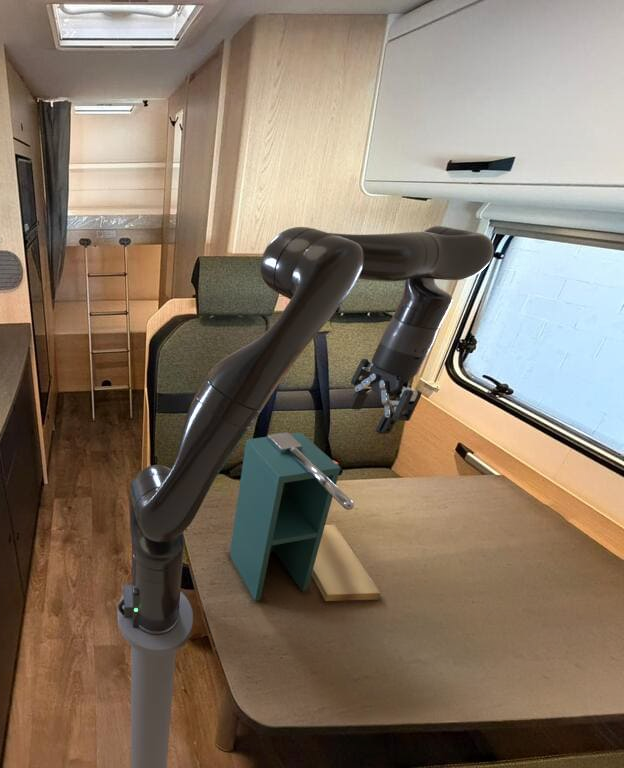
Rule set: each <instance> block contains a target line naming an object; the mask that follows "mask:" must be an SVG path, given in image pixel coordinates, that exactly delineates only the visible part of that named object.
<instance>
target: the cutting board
mask: <svg viewBox="0 0 624 768" xmlns="http://www.w3.org/2000/svg"><path fill="white" fill-rule="evenodd" d="M311 578H312V579H313V581H314V583H315V584H316V586H317V588H318V590H319V592H320V594H321V595H322V598H323V599H324V601H325V602H338V601H339V602H341V601H369V600H379V598H380V596H381V591H380V590H379V589H378V586H377V585H376V584H375V582H374V581H373V580H372V578H371V577H370V575H369V574H368V572H367V571H366V569H365V568H364V566H363V564H362V563H361V561H360V560H359V559H358V557H357V556H356V554H355V553H354V551H353V550H352V548H351V547H350V546H349V544H348V543H347V541H346V540H345V539H344V536H343V535H342V534H341V532H340V531H339V529H338V528H337V526H336V525H335V524H325V527H324V531H323V534H322V538H321V542H320V545H319V549H318V553H317V556H316V560H315V564H314V567H313V571H312V575H311Z"/></svg>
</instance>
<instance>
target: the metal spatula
mask: <svg viewBox="0 0 624 768" xmlns="http://www.w3.org/2000/svg"><path fill="white" fill-rule="evenodd" d="M290 434H291V433H289V432H287V431H286V432H278V433H271V434H267V435H266V437H267V441H268V442H269V443H270V444H271V445H272V446H273V447H274V448H275V449H276V450H277V451H278V452H279V453H280V454H286V453H290V454H291V455H292V456H293V457H294V458H295V459H296V460H297V461H298V462H299V463H300V464H301V465H302V466H303V467H304V468H305V469H306V470H307V471H308V472H309V473H310V474H311V475H312V476H313V477H314V478H315V479H316V480H317V481H318V482H319V483H320V484H321V485H322V486H323V487H324V488H325V489H326V490H327V491H328V492H329V493H330V494H331V495H332V496H333V499H334V500H335V501H337V503H338V504H339V505H341V507H342V508H344V509H345V510H346V511H347V510H348V511H350V510H353V509H354V507H355V503H354V502H353V500H351V499H350V498H349V496H348V495H346V494H345V492H343V491H342V490H341V489H340V488H339V486H337V484H336V485H335V484H334V483H333V482H332V481H331V480H330V479H329V478H327V477H326V476H325V475H324V474H323V473H322V472H321V471H320V470H319V469H318V468H317V467H316V466H315V465H314V464H313V463H312V462H311V461H310V460H309V459H308V458H307V457H306V456H304V455H303V454H302V453H301V452H300V451H302V447H303V446H302V445H301V444H300V443H299V442H298V441H297V440H296V439H294V438H293V437H292V436H291V435H290Z"/></svg>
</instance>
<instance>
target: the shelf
mask: <svg viewBox="0 0 624 768" xmlns="http://www.w3.org/2000/svg"><path fill="white" fill-rule="evenodd" d="M289 434H290V435H291V436H292V437H293V438H294V439H296V440H297V441H298V442H299V443H300V444H301V445H302V446H303V447H302V451H300V452H301V453H302V454H303V455H304V456H306V457H307V458H308V459H309V460H310V461H311V462H312V463H313V464H314V465H315V466H316V467H317V468H318V469H319V470H320V471H321V472H322V473H323V474H324V475H325V476H326V477H327V478H329V479H330V480H331V481H332V482H333V483H334V484H335V485H336V486H337V483H338V479H339V475H340V472H341V466H340V465H338V464H337V463H336V462H335V461H334V460H333V459H331V458H330V457H329V456H328V455H327V454H326V453H325V452H324V451H323V450H321V449H320V448H319V447H318V446H317V445H316V444H315V443H313V441H311V440H310V439H309V438H308V437H307V436H306V435H305V434H304V433H302V432H295V433H294V432H292V433H289ZM333 499H334V497H333V496H332V495H331V494H330V493H329V492H328V491H327V490H326V489H325V488H324V487H323V486H322V485H321V484H320V483H319V482H318V481H317V480H316V479H315V478H314V477H313V476H312V475H311V474H310V473H309V472H308V471H307V470H306V469H305V468H304V467H303V466H302V465H301V464H300V463H299V462H298V461H297V460H296V459H295V458H294V457H293V456H292V455H291V454H290V453H286V454H280V453H279V452H278V451H277V450H276V449H275V448H274V447H273V446H272V445H271V444H270V443H269V442H268V441H267V436H263V437H256V438H255V437H254V438H249V439H246V441H245V447H244V453H243V461H242V466H241V474H240V481H239V487H238V494H237V502H236V507H235V508H236V509H235V513H234V521H233V528H232V536H231V543H230V550H229V557H230V559H231V561H232V562H233V564H234V566H235V568H236V570H237V571H238V573H239V575H240V577H241V579H242V580H243V582H244V584H245V586H246V587H247V589H248V591H249V593H250V594H251V596H252V597H253V598H252V599H253V600H254V602H258V601H261V599H262V594H263V588H264V585H265V579H266V574H267V570H268V569H267V568H268V565H269V559H270V555H271V553H275V554H276V556H277V557H278V558H279V559H280V562H281V563H282V564H283V566H284V567H285V568H286V570H287V572H288V573H289V574H290V576H291V578H293V580H294V582H295V584H297V586H298V587H299V589H300V590H301V591H302V592H305V591H308V590H309V585H310V583H311V578H312V571H313V567H314V564H315V560H316V556H317V553H318V549H319V545H320V542H321V538H322V534H323V531H324V527H325V525H326V522H327V519H328V515H329V511H330V508H331V505H332V502H333V501H332V500H333Z"/></svg>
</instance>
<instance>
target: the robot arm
mask: <svg viewBox="0 0 624 768" xmlns="http://www.w3.org/2000/svg"><path fill="white" fill-rule="evenodd" d="M494 250H495V249H494V243H493V241H492V240H491V238H490V237H488V236H487V235H485V234H483V233H480V232H476V231H470V230H465V229H459V228H454V227H449V226H443V225H435V226H431V227H429V228H426V229H425V230H424V231H407V232H395V233H376V234H374V233H372V234H370V233H369V234H353V233H352V234H350V233H349V234H348V233H334V232H327V231H323V230H320V229H318V228H314V227H310V226H309V227H307V226H295V227H291V228H290V227H289V228H287V229H285V230H283V231H281V232H280V233H278V234H277V235H276V236H275V237H274V238H272V240H270V242H269V243H268V245H267V246H266V247H265V249H264V252H263V253H262V257H261V259H260V267H259V268H260V276H261V278H262V280H263V282H264V283H265V285H267V286H268V287H269V288H270V289H271V290H272V291H274V292H275V293H277V294H279V295H280V296H282V297H285V298H287V299H289V301H288V303H287V304H286V306H285V308H284V309H283V311H282V312H281V313H280V314H279V316H278V317H277V318H276V320H275V321H274V323H273V324H272V325H271V326H270V327H269V328H268V329H267V330H266V331H264V333H262V334H261V335H260V336H259V337H257V338H255V339H254V340H253V341H251V342H249V343H247V344H245V345H244V346H241V347H240V348H238V349H237V350H234V351H233V352H231V353H229V354H228V355H227V356H225V357H223V358H222V359H220V360H219V361H218V362H217V363H215V365H214V366H213V367H212V368H211V369H210V371H209V373H208V374H207V375H206V377H205V378H204V380H203V382H202V383H201V385H200V386H199V388H198V390H197V392H196V393H195V395H194V397H193V398H192V401H191V403H190V405H189V408H188V410H187V414H186V417H185V421H184V425H183V429H182V434H181V439H180V442H179V447H178V451H177V454H176V457H175V459H174V461H173V464H172V466H171V467H170V466H169V467H168V466H166V465H161V464H154V465H149V466H147V467H144V468H143V469H141V470H140V471H139V472H138V473H137V474H136V475H135V476H134V477H133V479H132V481H131V483H130V487H129V497H128V498H129V529H130V530H129V531H130V539H131V567H130V584H123V585H122V586H123V590H122V591H123V594H122V596H124V599H123V600H122V601H121V602H120V601H119V602H120V603H119V602H118V604H117V605H118V606H117V610H118V609H119V611H120V612H121V613H122V615H125V618H132V623H133V628H139V629H141V630H142V631H143V632H145V633H148V634H151V635H163V634H166V633H168V632H170V631H171V630H173V629H174V628H175V626H176V625H177V623H178V620H179V608H180V606H179V604H180V601H181V599H180V591H181V590H182V577H183V576H182V575H183V563H184V554H185V553H184V552H185V539H184V538H185V537H184V532H185V531H186V530H187V529H188V528H189V526H190V525H191V524H192V522H193V521H194V519H195V517H196V516H197V514H198V512H199V510H200V508H201V506H202V504H203V502H204V501H205V498H206V497H207V495H208V493H209V491H210V489H211V487H212V485H213V484H214V482H215V480H216V478H217V477H218V476H219V474H220V472H221V470H222V469H223V468H224V466H225V465H226V463H227V461H228V460H229V458H230V457H231V456H232V454H233V452H234V451H235V450H236V447H237V446H238V444H239V443H240V442H241V440H242V439H243V438H244V436H245V435H246V433H247V432H248V431H249V429H250V428H251V427H252V426H253V424H254V422H255V421H256V420H257V418H259V417H258V416H260V414H261V412H262V411H263V409H264V408H265V407H266V405H267V403H268V402H269V400H270V398H271V396H273V394H274V392H275V391H276V389H277V387H278V386H279V385H280V384H281V382H282V380H283V379H284V377H285V376H286V375H287V373H288V372H289V371H290V369H291V368H292V367H293V365H294V363H295V362H296V361H297V360H298V358H299V357H300V356H301V354H302V353H303V351H305V349H306V348H307V347H308V345H309V344H310V343H311V342H312V340H313V339H314V338H315V337H316V335H318V333H319V332H320V331H321V330H322V329H323V327H324V326H325V325H326V323H327V322H328V321H329V320H330V319H331V318H332V316H333V315H334V314H335V313H336V311H337V310H338V309H339V308H340V307H341V305H342V304H343V303H344V302H345V300H346V299H347V297H349V295H350V294H351V292H352V290H353V289H354V287H355V286H356V284H357V282H358V280H366V281H373V282H390V283H391V282H392V283H393V282H401V281H402V282H403V281H405V282H404V288H403V292H402V296H401V298H400V300H399V303H398V306H397V307H396V309H395V312H394V313H393V316H392V318H391V320H390V321H389V322H388V324H387V326H386V327H385V329H384V332H383V333H382V336H381V338H380V340H379V343H378V345H377V347H376V349H375V351H374V353H373V356H372V358H371V359H370V358H362V359H360V362H359V364H358V366H357V368H356V370H355V371H354V374H353V376H352V377H351V380H350V384H351V385H352V386H354V391H355V392H354V393H353V396H352V398H351V401H350V405H349V408H351V410H358V411H360V410H361V409H362V408H363V407H364V404H365V402H366V400H367V398H368V395H369V394H368V393H370V392H371V391H372V392H374V393H376V394H377V396H378V397H380V398H381V404H382V405H383V408H384V414H383V415H382V417H381V419H380V421H379V423H378V425H377V427H376V428H375V432H376V433H378V434H379V435H381V434H382V435H387V434H390V433H391V432H392V430H393V428H394V426H395V425H396V423H397V421H404V422H409V421H410V420H411V418H412V416H413V414H414V412H415V409H416V407H417V405H418V403H419V401H420V399H421V397H422V391H421V390H415V389H413V388H412V387H410V381H411V379H413V378H414V377H415V376H417V375H418V373H419V371H420V370H421V367H422V365H423V363H424V362H425V360H426V358H427V356H428V354H429V352H430V350H431V348H432V347H433V344H434V342H435V340H436V337H437V335H438V332H439V329H440V328H441V325H442V324H443V322H444V319H445V318H446V315H447V314H448V311H449V310H450V308H451V306H452V302H453V296H452V295H451V294H450V293H449V292H448V291H446V290H445V289H443V288H440V287H439V286H438V285H437V284H436V281H435V280H442V281H443V280H444V281H463V280H467V279H470V278H473V277H474V276H476V275H478V274H479V273H481V272H482V271H483V270H484V269H486V267H487V266H488V265H489V264H490V262H491V261H492V259H493V256H494V252H495V251H494ZM393 398H395V400H391V399H393ZM181 592H182V591H181ZM123 605H124V609H123V608H122V606H123Z"/></svg>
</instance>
